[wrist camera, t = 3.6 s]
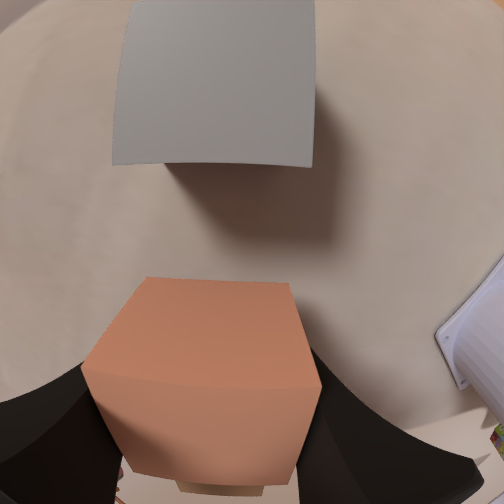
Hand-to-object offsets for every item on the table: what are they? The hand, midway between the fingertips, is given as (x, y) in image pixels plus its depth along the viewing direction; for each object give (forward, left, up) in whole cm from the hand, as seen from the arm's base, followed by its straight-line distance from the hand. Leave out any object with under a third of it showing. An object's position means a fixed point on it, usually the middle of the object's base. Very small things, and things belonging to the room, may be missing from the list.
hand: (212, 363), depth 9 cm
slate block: (+6, -6, -4) cm, 10 cm away
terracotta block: (0, 0, -1) cm, 1 cm away
